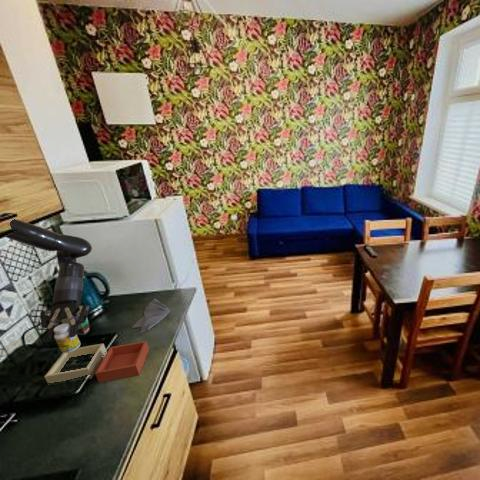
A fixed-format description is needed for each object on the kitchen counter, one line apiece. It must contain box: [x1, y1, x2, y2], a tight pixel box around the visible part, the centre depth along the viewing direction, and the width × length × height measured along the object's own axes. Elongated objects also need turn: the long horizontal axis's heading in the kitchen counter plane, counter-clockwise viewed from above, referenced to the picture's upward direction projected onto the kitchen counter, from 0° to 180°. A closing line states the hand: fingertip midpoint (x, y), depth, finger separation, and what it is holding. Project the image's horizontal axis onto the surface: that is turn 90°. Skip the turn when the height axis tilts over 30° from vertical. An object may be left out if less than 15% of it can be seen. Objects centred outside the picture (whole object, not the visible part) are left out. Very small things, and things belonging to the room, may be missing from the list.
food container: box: [60, 310, 91, 336], centre depth 118 cm, size 12×6×10 cm, turn 80°
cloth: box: [131, 297, 171, 334], centre depth 129 cm, size 26×14×2 cm, turn 12°
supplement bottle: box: [54, 323, 81, 354], centre depth 95 cm, size 5×5×10 cm
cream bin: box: [44, 343, 108, 384], centre depth 99 cm, size 13×13×5 cm
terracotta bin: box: [94, 340, 150, 384], centre depth 101 cm, size 13×13×5 cm
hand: (62, 338), depth 92 cm, fingers closed on supplement bottle, 5 cm apart
